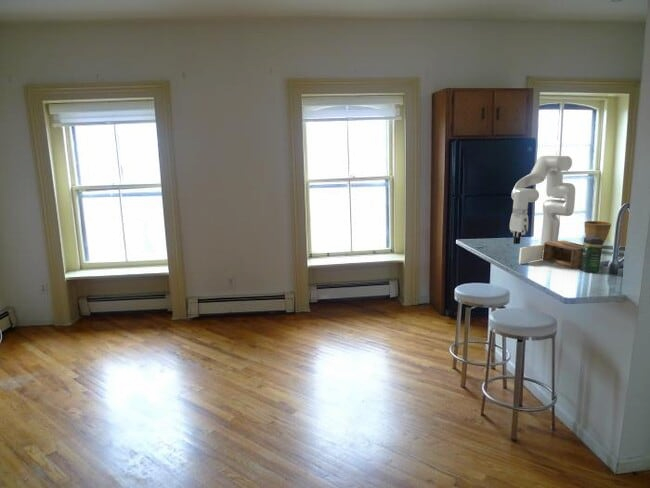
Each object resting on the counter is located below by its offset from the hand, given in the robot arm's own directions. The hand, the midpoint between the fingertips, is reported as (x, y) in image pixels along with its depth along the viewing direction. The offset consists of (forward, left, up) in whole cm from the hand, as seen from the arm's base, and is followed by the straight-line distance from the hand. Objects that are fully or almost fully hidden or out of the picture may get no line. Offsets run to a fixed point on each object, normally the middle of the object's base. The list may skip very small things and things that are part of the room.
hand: (516, 243), depth 248 cm
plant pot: (-75, -13, -11) cm, 77 cm away
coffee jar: (-23, +29, -11) cm, 38 cm away
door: (-7, +4, -10) cm, 13 cm away
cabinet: (-24, +13, -11) cm, 29 cm away
